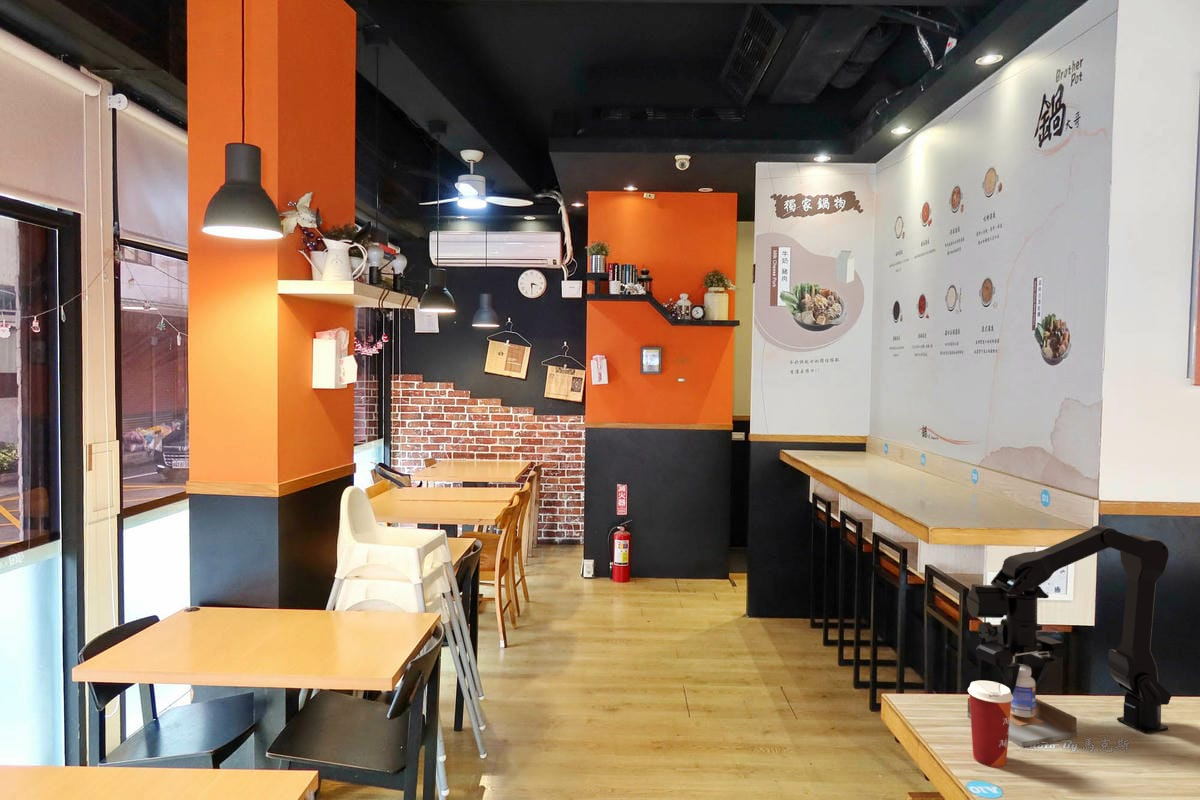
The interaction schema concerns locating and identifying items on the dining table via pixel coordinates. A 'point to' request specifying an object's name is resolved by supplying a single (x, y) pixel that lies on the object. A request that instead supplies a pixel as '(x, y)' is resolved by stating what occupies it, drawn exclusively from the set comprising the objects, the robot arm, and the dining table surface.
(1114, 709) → the dining table surface
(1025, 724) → the corner arena
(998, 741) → the paper cup
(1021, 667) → the pill bottle
